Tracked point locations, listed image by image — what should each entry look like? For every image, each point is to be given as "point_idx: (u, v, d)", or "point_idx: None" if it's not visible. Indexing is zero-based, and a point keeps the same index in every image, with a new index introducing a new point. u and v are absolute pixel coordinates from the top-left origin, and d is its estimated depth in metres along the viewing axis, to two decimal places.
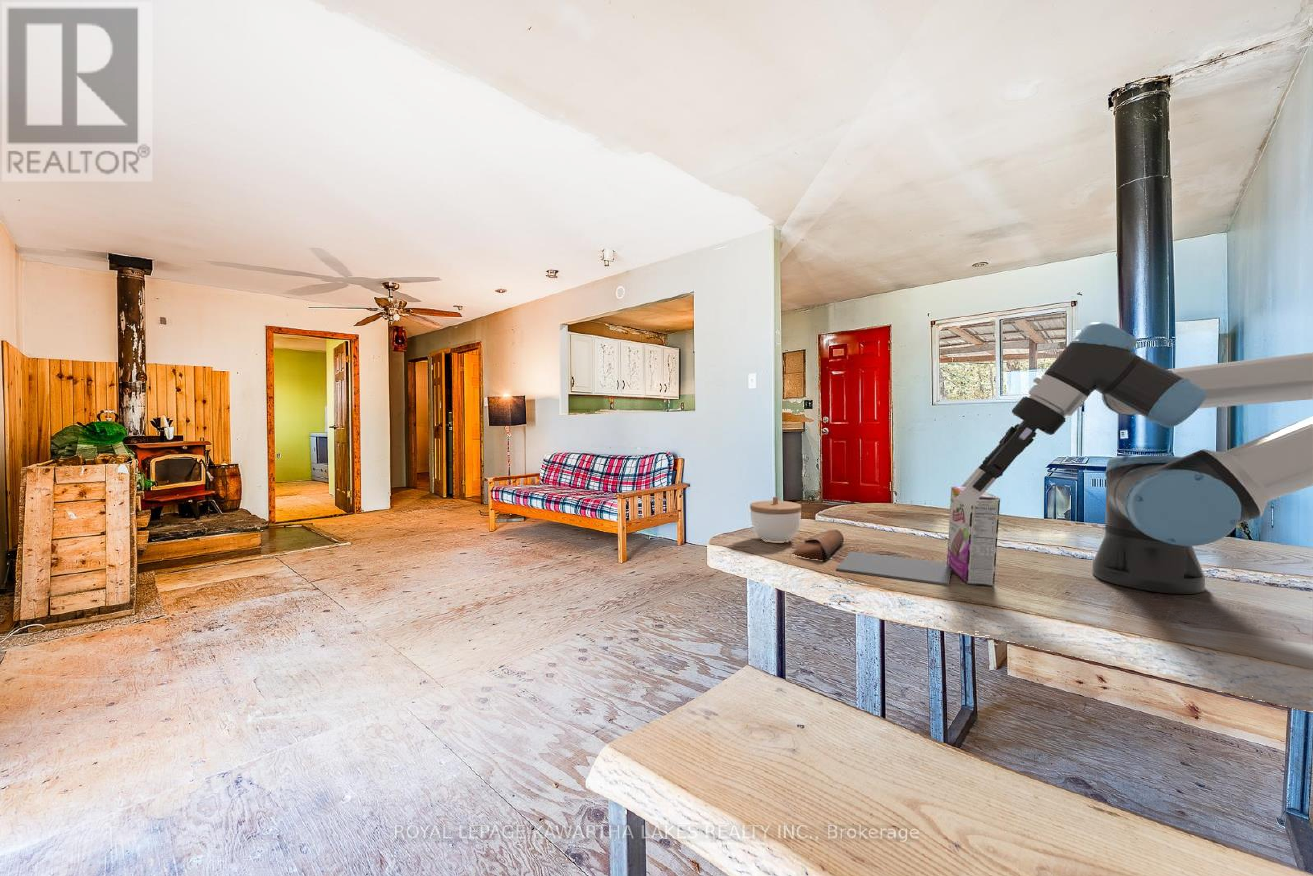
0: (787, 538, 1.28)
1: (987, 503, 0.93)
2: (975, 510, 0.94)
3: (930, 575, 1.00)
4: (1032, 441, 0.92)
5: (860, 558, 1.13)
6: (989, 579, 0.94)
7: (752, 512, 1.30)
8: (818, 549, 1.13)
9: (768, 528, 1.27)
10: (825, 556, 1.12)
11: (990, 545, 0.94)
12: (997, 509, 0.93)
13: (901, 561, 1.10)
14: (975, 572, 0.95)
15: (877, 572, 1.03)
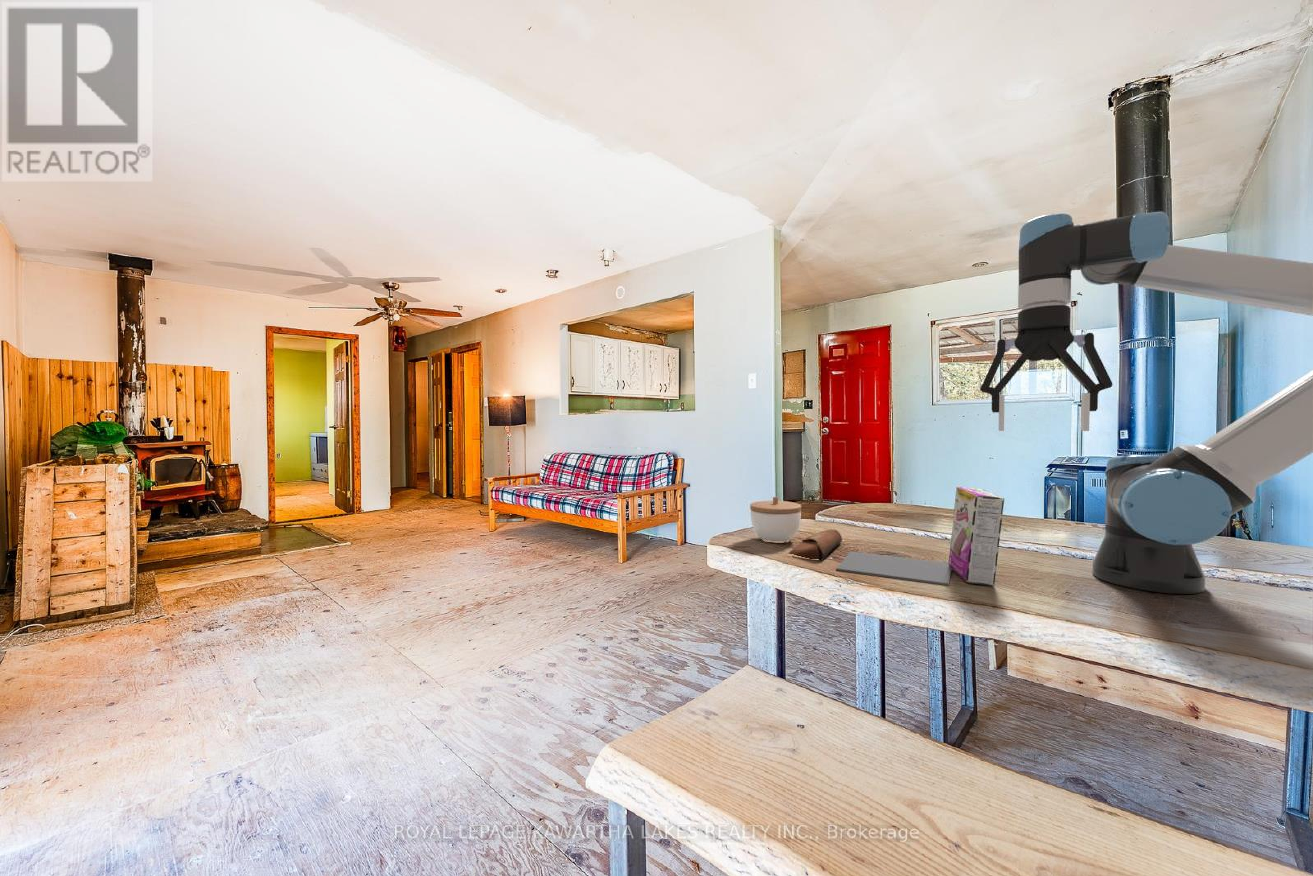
0: (787, 538, 1.28)
1: (991, 502, 0.94)
2: (979, 509, 0.94)
3: (930, 575, 1.00)
4: (1030, 343, 0.92)
5: (860, 558, 1.13)
6: (989, 579, 0.94)
7: (752, 512, 1.30)
8: (815, 549, 1.14)
9: (768, 528, 1.27)
10: (821, 555, 1.12)
11: (992, 544, 0.94)
12: (1001, 509, 0.93)
13: (901, 561, 1.10)
14: (976, 571, 0.95)
15: (877, 572, 1.03)
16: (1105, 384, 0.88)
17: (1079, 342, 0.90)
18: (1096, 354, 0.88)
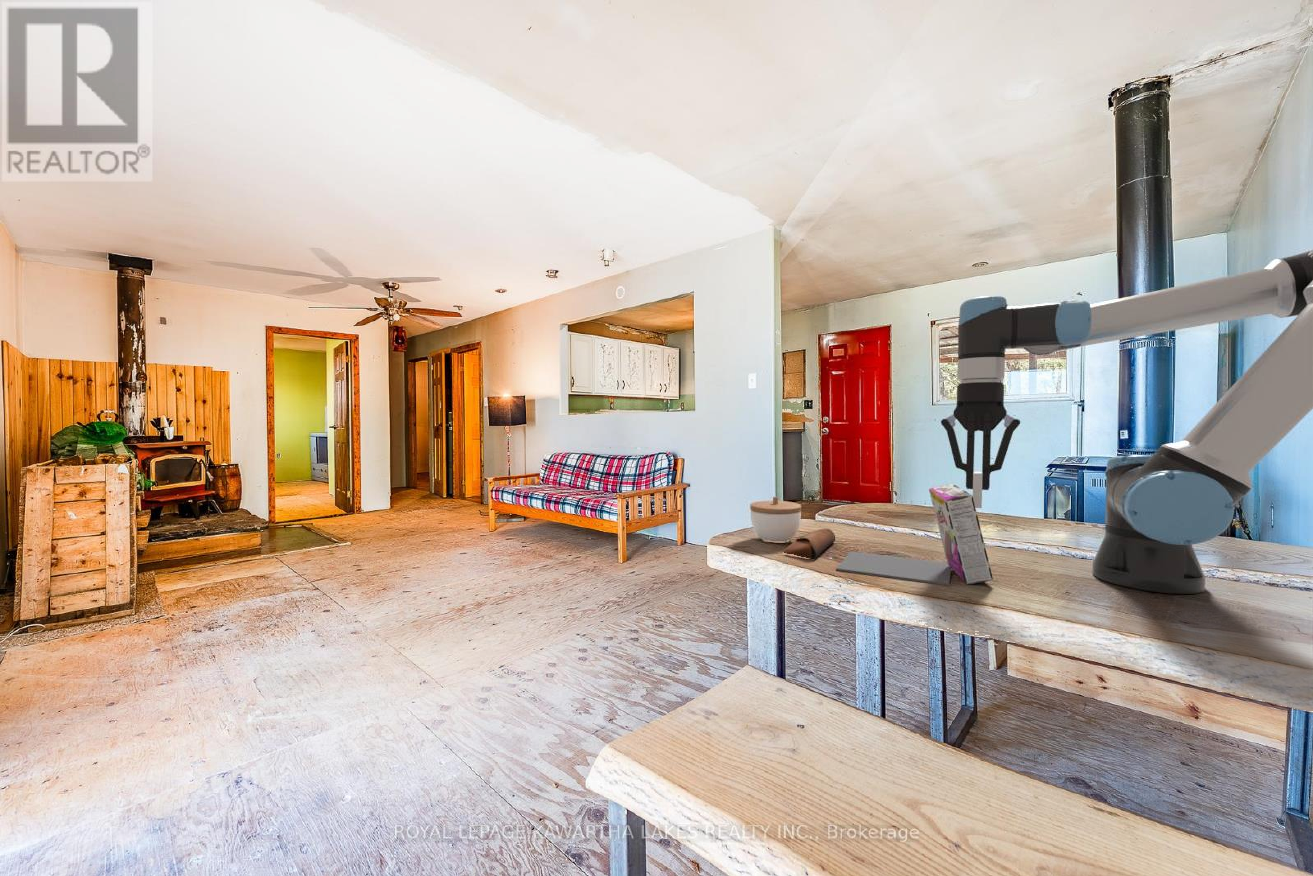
0: (787, 538, 1.28)
1: (961, 503, 0.94)
2: (952, 512, 0.95)
3: (930, 575, 1.00)
4: (967, 417, 0.97)
5: (860, 558, 1.13)
6: (986, 575, 0.94)
7: (752, 512, 1.30)
8: (808, 548, 1.15)
9: (768, 528, 1.27)
10: (814, 554, 1.13)
11: (977, 541, 0.94)
12: (972, 506, 0.94)
13: (901, 561, 1.10)
14: (971, 571, 0.95)
15: (877, 572, 1.03)
16: (996, 466, 0.96)
17: (1006, 422, 0.96)
18: (1009, 439, 0.95)
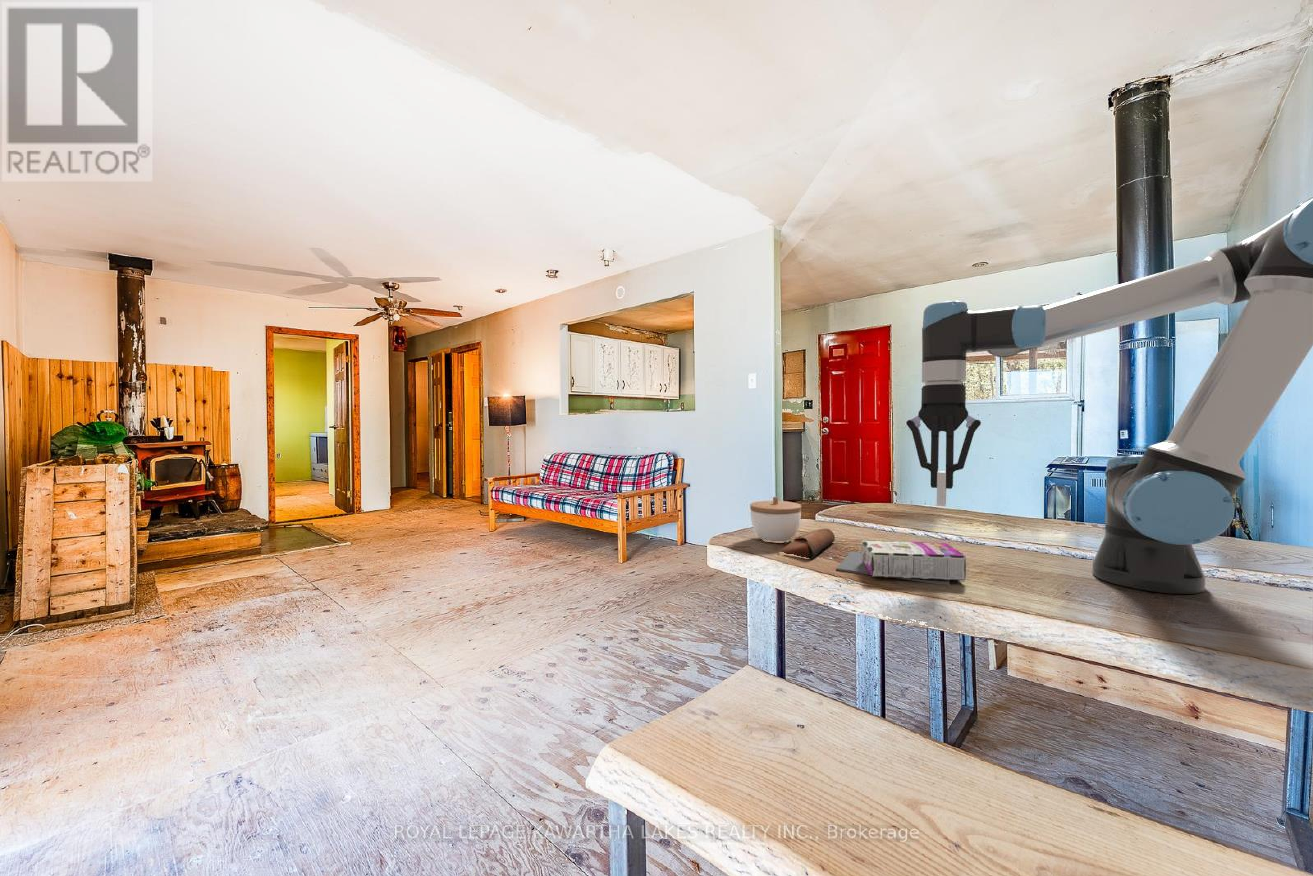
0: (787, 538, 1.28)
1: (877, 563, 0.99)
2: (885, 573, 0.98)
3: None
4: (931, 418, 1.01)
5: (860, 558, 1.13)
6: (958, 560, 0.96)
7: (752, 512, 1.30)
8: (805, 547, 1.15)
9: (768, 528, 1.27)
10: (811, 554, 1.14)
11: (921, 560, 0.97)
12: (883, 555, 0.98)
13: None
14: (952, 573, 0.96)
15: None
16: (958, 465, 0.99)
17: (967, 423, 0.99)
18: (970, 439, 0.98)
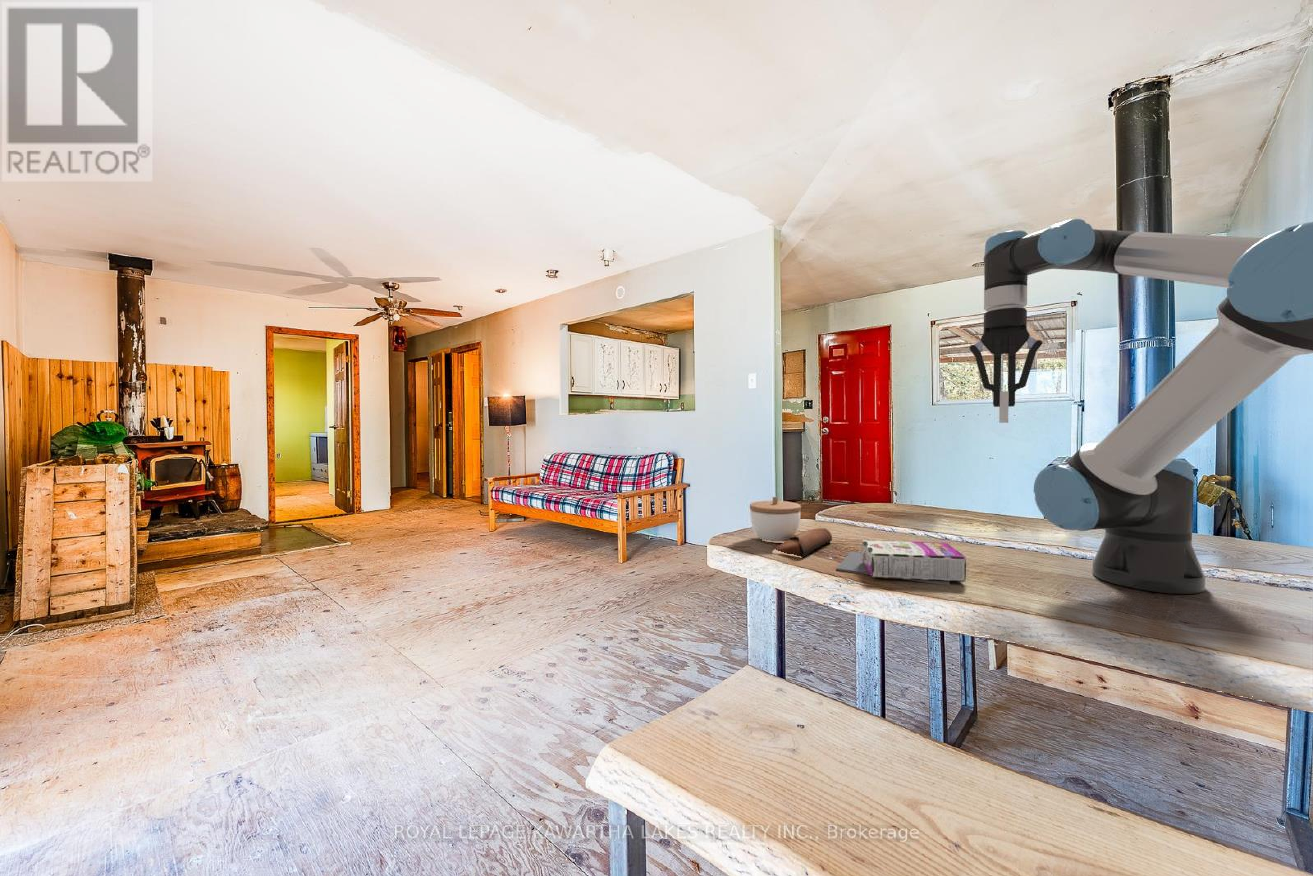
0: (787, 538, 1.28)
1: (878, 564, 0.99)
2: (885, 574, 0.98)
3: None
4: (994, 341, 1.09)
5: (860, 558, 1.13)
6: (959, 562, 0.96)
7: (752, 512, 1.31)
8: (796, 546, 1.16)
9: (767, 528, 1.27)
10: (802, 553, 1.15)
11: (921, 561, 0.97)
12: (883, 556, 0.98)
13: None
14: (952, 574, 0.96)
15: None
16: (1020, 383, 1.07)
17: (1029, 344, 1.07)
18: (1032, 359, 1.06)
